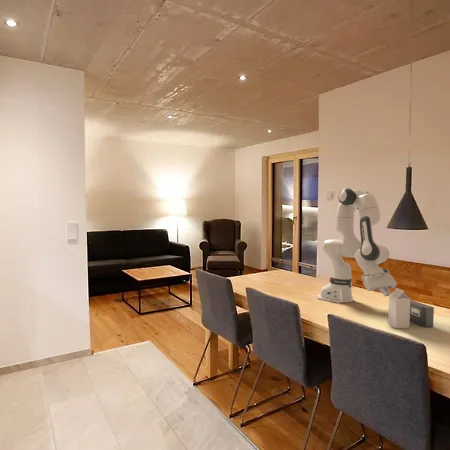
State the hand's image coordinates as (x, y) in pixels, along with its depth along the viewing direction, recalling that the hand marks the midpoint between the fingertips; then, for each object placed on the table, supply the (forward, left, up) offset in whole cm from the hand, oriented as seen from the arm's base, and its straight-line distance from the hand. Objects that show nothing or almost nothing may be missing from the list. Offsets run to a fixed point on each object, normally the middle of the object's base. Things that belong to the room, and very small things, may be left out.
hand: (387, 295), depth 184 cm
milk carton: (+6, -10, -13) cm, 18 cm away
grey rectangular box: (+11, +3, -13) cm, 17 cm away
